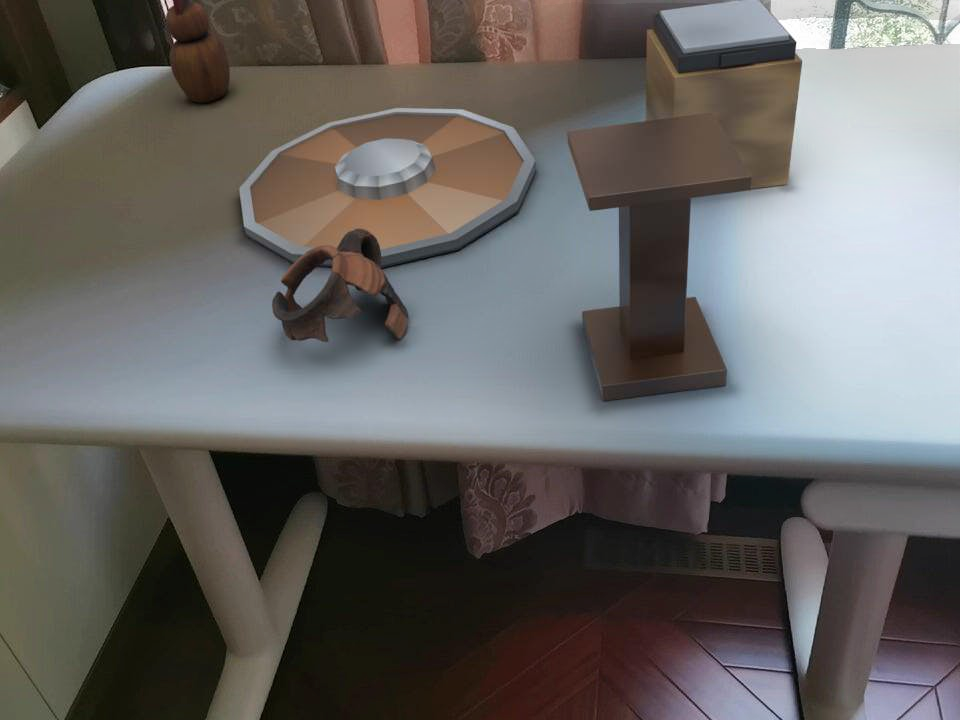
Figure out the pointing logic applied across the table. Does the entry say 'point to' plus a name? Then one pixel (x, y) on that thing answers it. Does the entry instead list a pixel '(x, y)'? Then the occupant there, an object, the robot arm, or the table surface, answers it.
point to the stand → (654, 249)
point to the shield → (389, 184)
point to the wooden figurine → (196, 53)
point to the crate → (733, 106)
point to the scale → (722, 36)
